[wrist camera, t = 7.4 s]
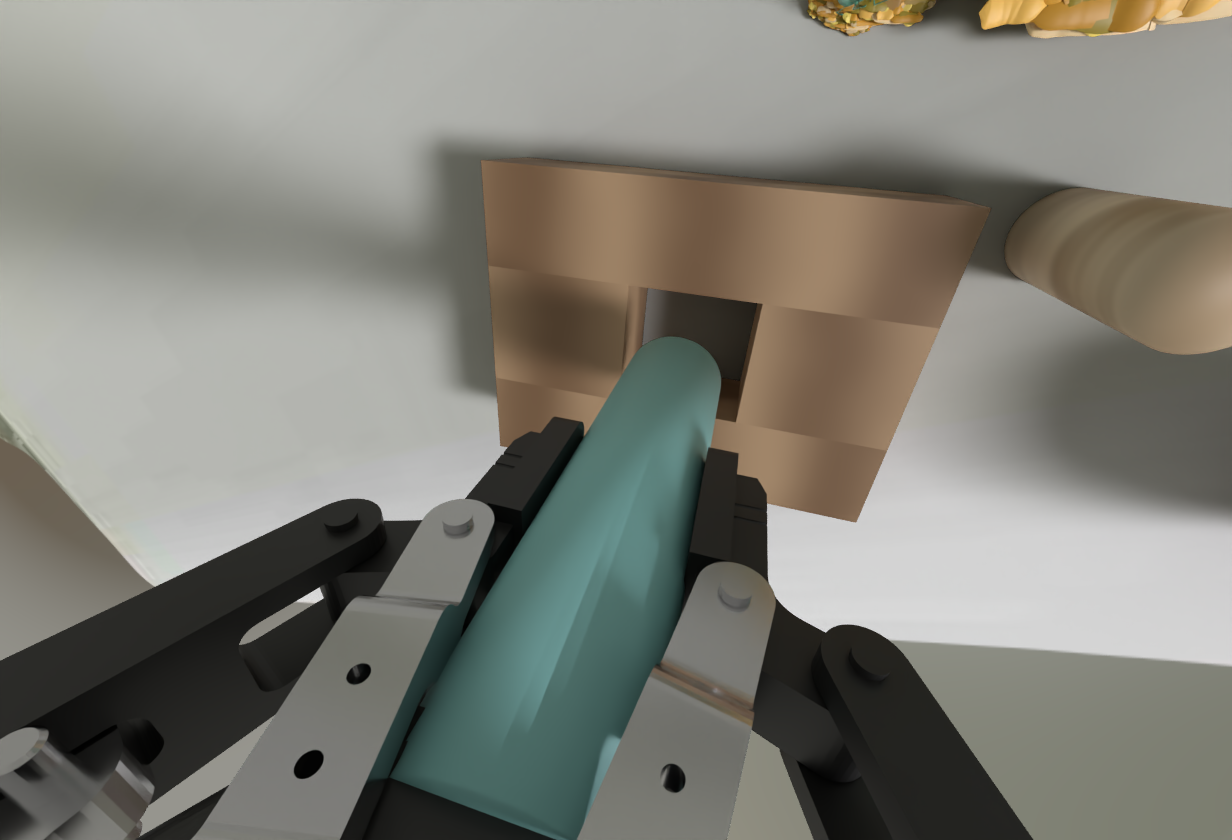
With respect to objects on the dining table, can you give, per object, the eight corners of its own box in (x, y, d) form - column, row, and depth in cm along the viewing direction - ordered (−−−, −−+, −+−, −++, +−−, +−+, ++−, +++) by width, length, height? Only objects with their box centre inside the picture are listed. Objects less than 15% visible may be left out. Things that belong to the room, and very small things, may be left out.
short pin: (1142, 192, 16) (1365, 221, 10) (1086, 290, 17) (1250, 364, 12) (1031, 183, 16) (1180, 205, 10) (988, 278, 18) (1095, 343, 12)
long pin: (729, 345, 15) (643, 853, 4) (712, 430, 17) (618, 954, 6) (631, 329, 16) (339, 740, 5) (623, 413, 17) (391, 861, 7)
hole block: (946, 195, 17) (991, 208, 14) (842, 467, 23) (856, 522, 20) (528, 157, 20) (480, 160, 17) (534, 407, 26) (500, 445, 23)
